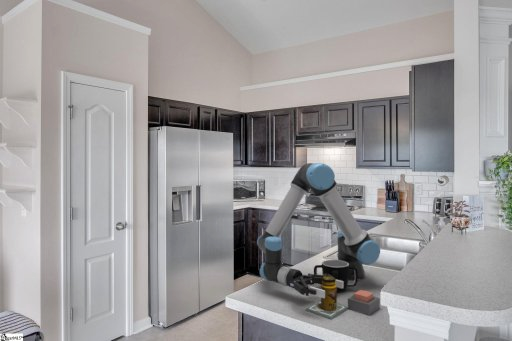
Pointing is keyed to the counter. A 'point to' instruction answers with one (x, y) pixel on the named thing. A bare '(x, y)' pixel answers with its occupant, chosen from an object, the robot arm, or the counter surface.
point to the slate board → (324, 313)
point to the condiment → (328, 295)
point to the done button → (363, 296)
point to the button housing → (364, 305)
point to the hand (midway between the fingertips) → (334, 289)
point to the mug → (338, 272)
